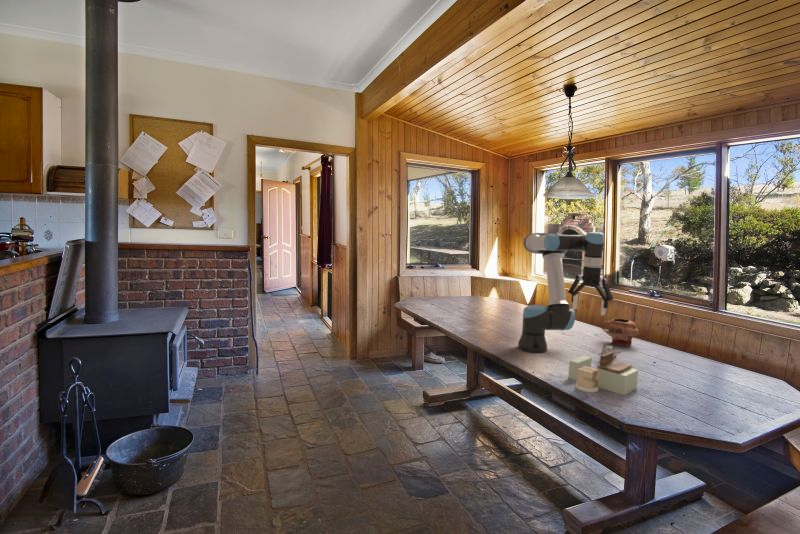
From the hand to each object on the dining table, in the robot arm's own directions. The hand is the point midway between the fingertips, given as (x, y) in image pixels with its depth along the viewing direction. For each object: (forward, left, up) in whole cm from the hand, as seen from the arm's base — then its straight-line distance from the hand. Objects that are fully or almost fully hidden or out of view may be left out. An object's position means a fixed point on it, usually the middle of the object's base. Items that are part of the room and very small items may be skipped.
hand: (588, 312), depth 207 cm
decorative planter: (-10, +58, -28) cm, 65 cm away
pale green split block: (+13, -11, -27) cm, 32 cm away
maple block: (+12, -22, -26) cm, 36 cm away
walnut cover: (+18, -11, -19) cm, 28 cm away
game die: (+1, +22, -28) cm, 35 cm away
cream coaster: (+12, -22, -27) cm, 37 cm away
